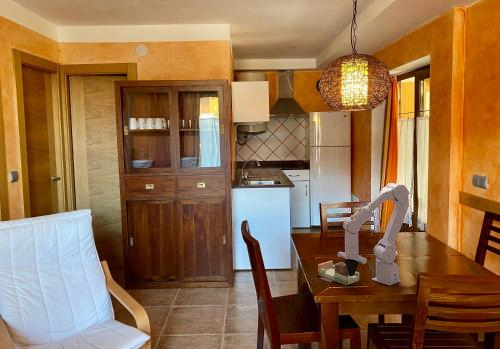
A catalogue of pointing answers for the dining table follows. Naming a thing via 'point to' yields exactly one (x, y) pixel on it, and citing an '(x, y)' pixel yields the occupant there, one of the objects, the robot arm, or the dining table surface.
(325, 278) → the mats
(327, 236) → the dining table surface
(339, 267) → the walnut block
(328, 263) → the trap lane
